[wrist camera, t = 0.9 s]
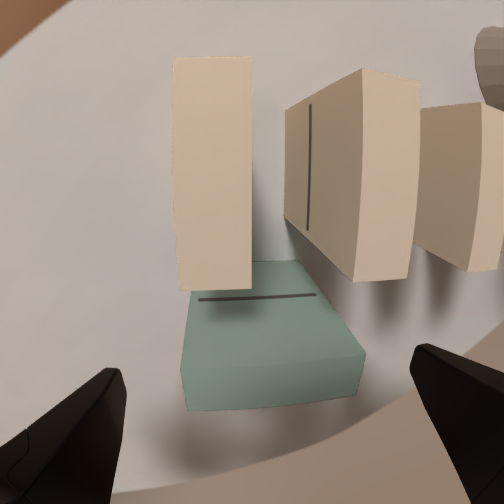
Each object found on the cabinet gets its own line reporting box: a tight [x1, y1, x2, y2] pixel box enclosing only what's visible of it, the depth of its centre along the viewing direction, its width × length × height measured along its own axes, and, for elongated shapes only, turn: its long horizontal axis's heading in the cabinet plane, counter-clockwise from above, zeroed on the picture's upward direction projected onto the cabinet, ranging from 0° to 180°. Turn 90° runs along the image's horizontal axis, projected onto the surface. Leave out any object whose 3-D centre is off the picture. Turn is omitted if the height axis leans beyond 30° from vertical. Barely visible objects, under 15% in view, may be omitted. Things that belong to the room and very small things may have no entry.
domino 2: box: [180, 260, 366, 411], centre depth 12 cm, size 2×5×8 cm, turn 91°
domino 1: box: [172, 56, 252, 291], centre depth 10 cm, size 2×5×8 cm, turn 1°
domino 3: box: [284, 69, 420, 283], centre depth 10 cm, size 2×5×8 cm, turn 1°
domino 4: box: [412, 102, 504, 273], centre depth 11 cm, size 2×5×8 cm, turn 1°
